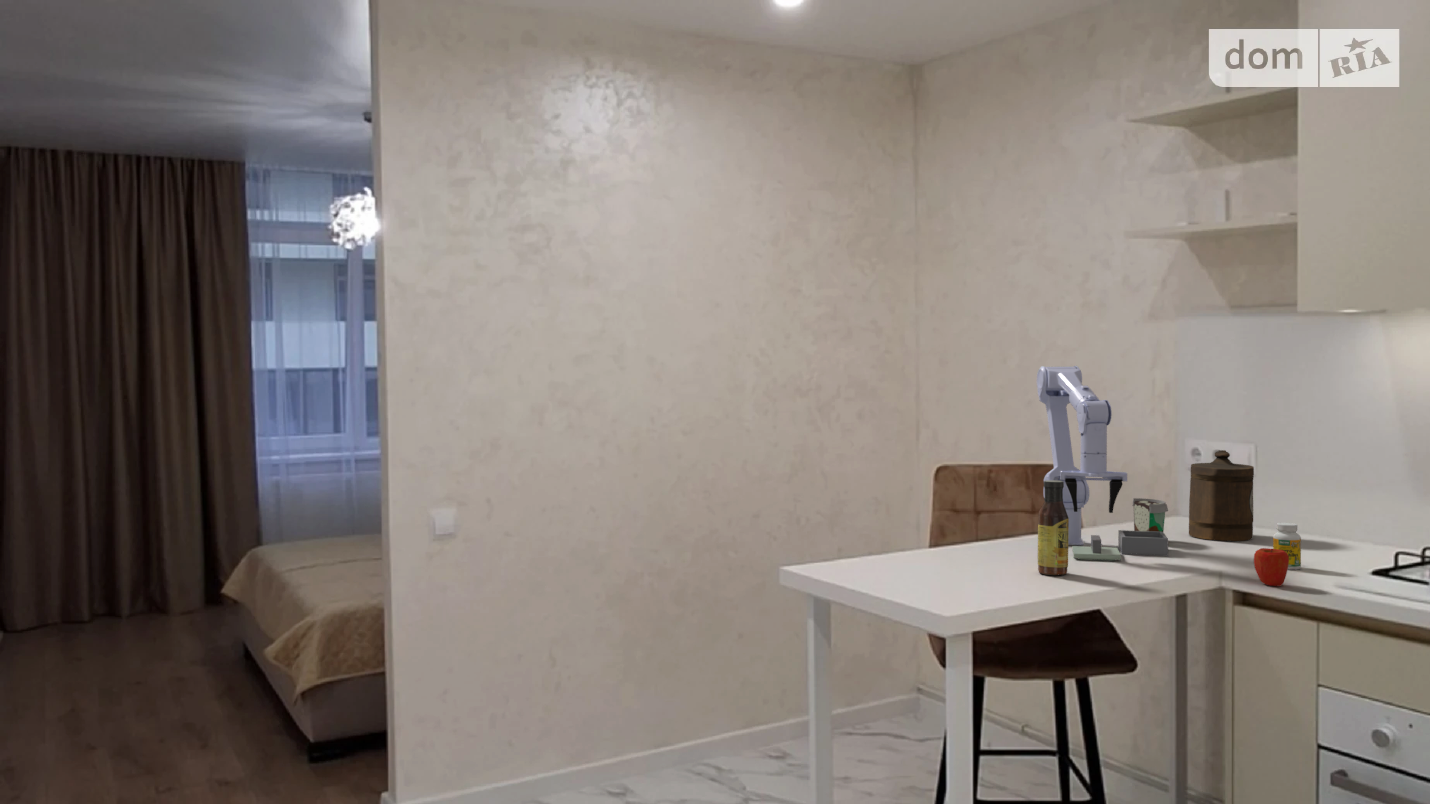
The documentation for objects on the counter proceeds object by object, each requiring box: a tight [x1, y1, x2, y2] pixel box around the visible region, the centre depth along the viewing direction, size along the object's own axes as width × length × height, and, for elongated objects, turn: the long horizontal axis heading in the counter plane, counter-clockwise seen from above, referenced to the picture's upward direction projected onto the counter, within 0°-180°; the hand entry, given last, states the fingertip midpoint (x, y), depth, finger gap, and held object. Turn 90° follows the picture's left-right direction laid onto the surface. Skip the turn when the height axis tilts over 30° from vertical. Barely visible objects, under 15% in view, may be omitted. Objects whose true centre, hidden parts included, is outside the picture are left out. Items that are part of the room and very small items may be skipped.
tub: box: [1117, 529, 1169, 557], centre depth 261 cm, size 10×10×4 cm
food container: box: [1132, 497, 1169, 533], centre depth 275 cm, size 12×6×10 cm, turn 179°
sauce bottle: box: [1037, 480, 1069, 576], centre depth 236 cm, size 7×6×20 cm
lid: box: [1071, 534, 1122, 562], centre depth 255 cm, size 10×10×5 cm
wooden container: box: [1188, 449, 1255, 542], centre depth 280 cm, size 15×15×22 cm
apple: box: [1253, 547, 1289, 587], centre depth 223 cm, size 6×6×8 cm
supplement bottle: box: [1272, 522, 1302, 571], centre depth 240 cm, size 5×5×10 cm
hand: (1093, 511), depth 255 cm, fingers open, 7 cm apart
